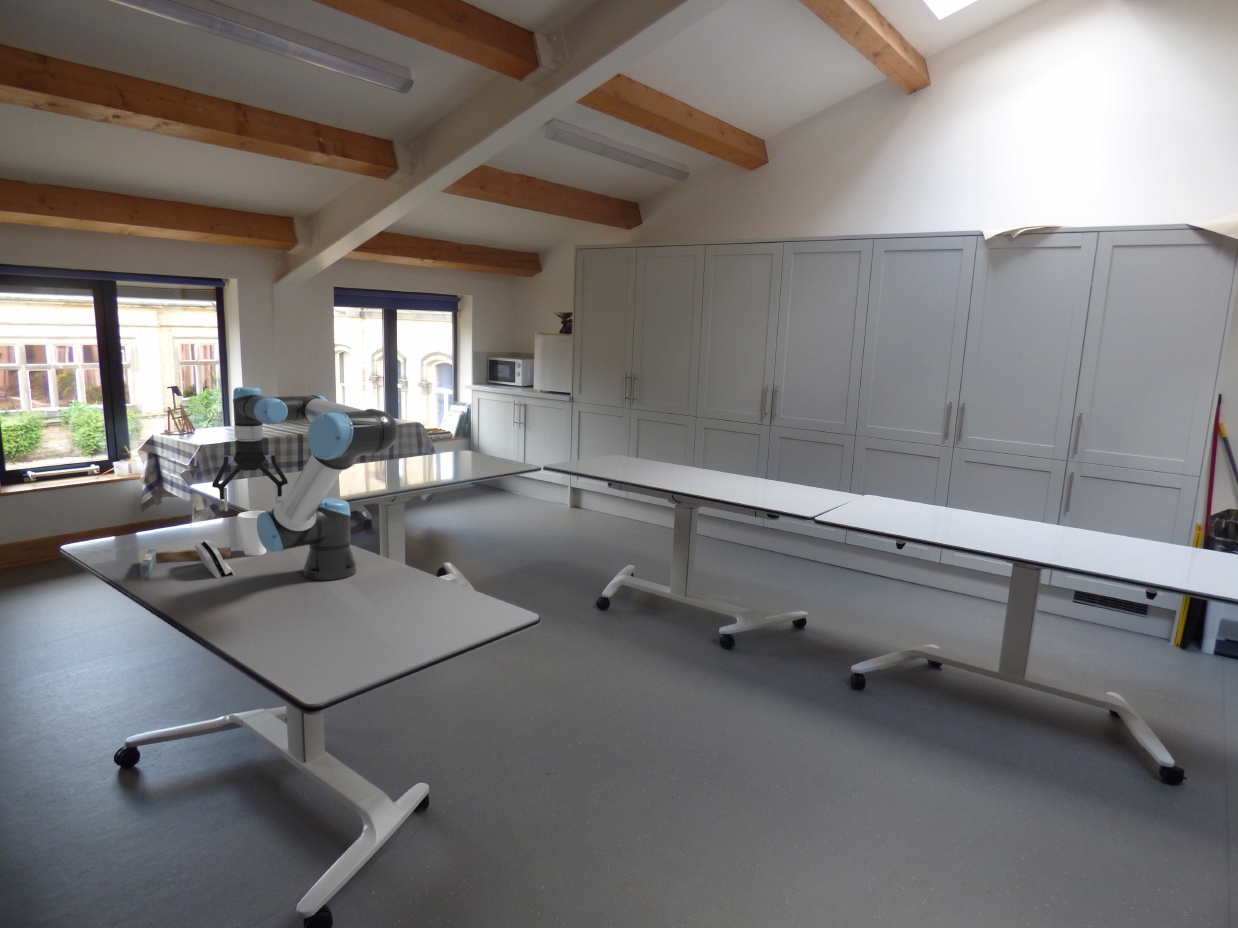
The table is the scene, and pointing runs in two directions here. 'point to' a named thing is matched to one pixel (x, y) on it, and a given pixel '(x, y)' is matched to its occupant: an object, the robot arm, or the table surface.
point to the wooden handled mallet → (172, 558)
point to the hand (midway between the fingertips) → (251, 508)
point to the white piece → (212, 559)
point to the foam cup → (250, 533)
